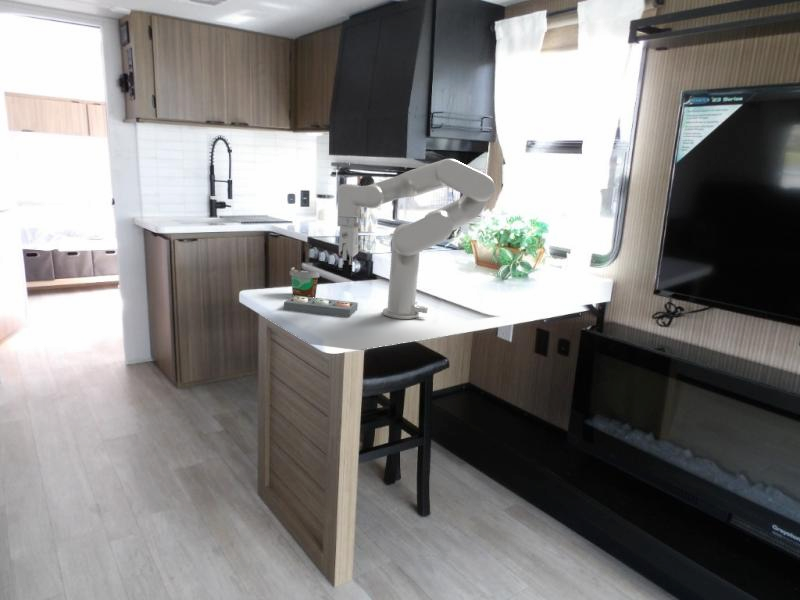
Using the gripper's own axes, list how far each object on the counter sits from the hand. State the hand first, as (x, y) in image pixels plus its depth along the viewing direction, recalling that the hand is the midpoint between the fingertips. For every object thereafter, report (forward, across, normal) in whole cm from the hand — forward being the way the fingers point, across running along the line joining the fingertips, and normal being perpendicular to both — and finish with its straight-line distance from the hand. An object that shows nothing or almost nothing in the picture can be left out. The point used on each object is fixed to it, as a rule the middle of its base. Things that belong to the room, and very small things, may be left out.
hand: (347, 275), depth 192 cm
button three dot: (+12, -2, +1) cm, 12 cm away
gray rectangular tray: (+12, -2, +8) cm, 15 cm away
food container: (+12, +14, +21) cm, 28 cm away
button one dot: (+12, -2, +8) cm, 15 cm away
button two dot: (+12, -1, +16) cm, 20 cm away
